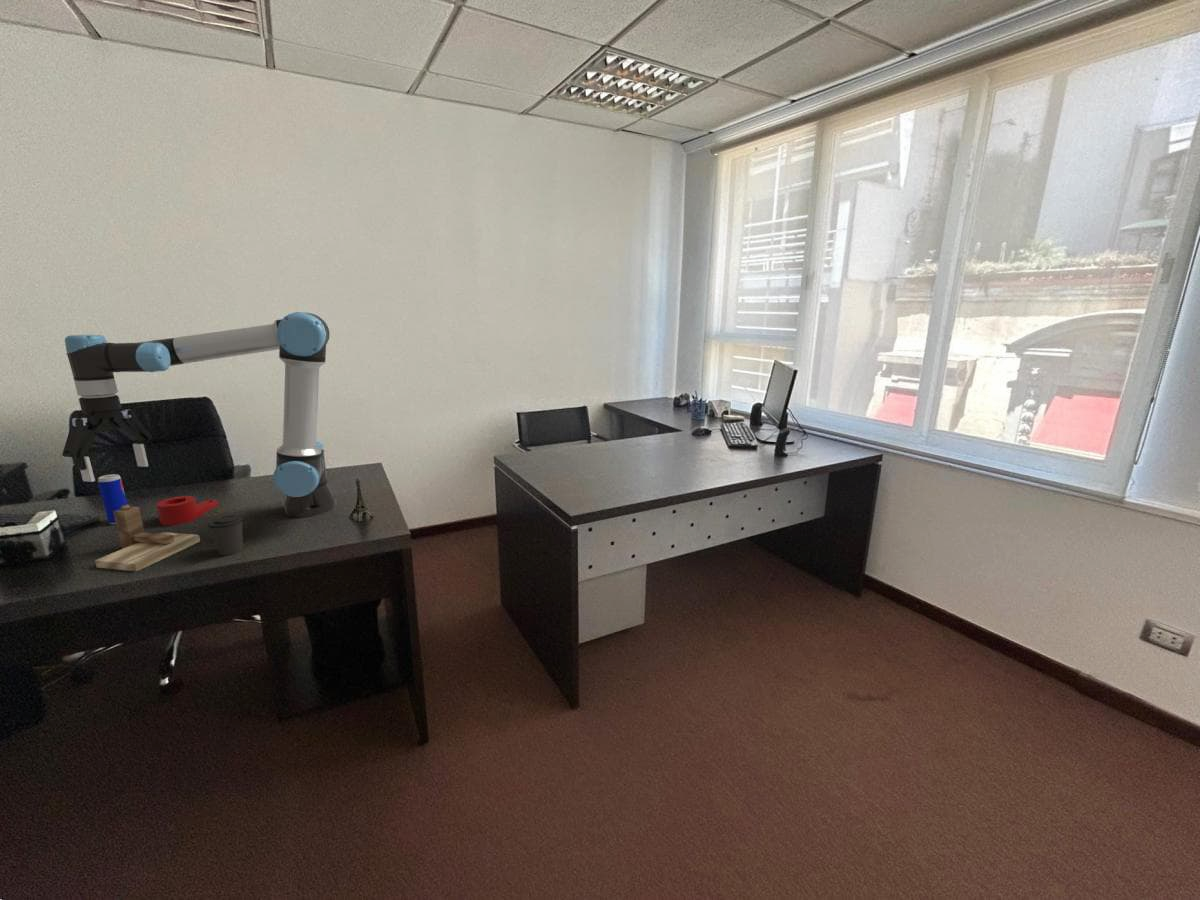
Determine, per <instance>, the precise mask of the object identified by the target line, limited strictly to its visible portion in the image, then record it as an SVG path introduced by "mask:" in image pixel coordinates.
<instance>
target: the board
mask: <svg viewBox="0 0 1200 900" xmlns="http://www.w3.org/2000/svg"><path fill="white" fill-rule="evenodd" d="M158 534H167V535H173V538H174V541H171V542H169V543H167V544H160V543H149V542H138V543H135V544H133V545H131V546H128V547H126V548H123V549H118V550H117V551H115V552H114V551H113V552H112V553H110V554H106V555H104V556H102V557H99V558H98V559H95V560H94V563H95V567H96V568H97V569H108V570H110V569H111V570H119V571H131V572H138V571H140V570H142V569H144V568H147V567H149V566H151V565H153V564H155V563H158V562H159V561H161V560H163V559H165V558H169V557H170V556H172V555H174V554H176V553H178V552H181V551H183V550H186V549H187V548H189V547H192V546H193V545H195V544H197V543H199V542H201V538H200V535H199V534H194V533H193V534H192V533H191V534H190V533H182V532H181V533H179V532H168V531H162V532H160V533H158Z"/></svg>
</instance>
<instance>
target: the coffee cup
mask: <svg viewBox="0 0 1200 900" xmlns="http://www.w3.org/2000/svg"><path fill="white" fill-rule="evenodd" d="M244 520H245V518H244V517H243V516H242V515H237V514H233V515H223V516H220V517H216V518H214V519H212V520H210V521H209V522H208V524H207V528H210V530H211V533H212V536H213V539H214V542H215V545H216V548H217V551H218V554H219V556H223V557H225V556H226V557H229V556H233V555H237V554H239V553H241V552H242V551H243V550H244V543H243V541H244V539H243V538H244V537H243V521H244Z"/></svg>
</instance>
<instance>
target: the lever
mask: <svg viewBox="0 0 1200 900" xmlns="http://www.w3.org/2000/svg"><path fill="white" fill-rule="evenodd" d="M218 505H219V503H218V499H210V500H206V501H201V502H198V503H197V502H196V498H195V496H192V495H181V496H175V497H174V496H173V497H170V498H166V499H163V500H160V501H158V502H157V503H156V510H157V512H158V518H159V522H160V525H161V526H169V527H171V526H177V525H183V524H186V523H190V522H192V521H194V520H196V519H198V518H200V517H201V516H203V515H204V514H206V513H207V512H209V511H211V510H212V509H214V508H215V507H217V506H218Z"/></svg>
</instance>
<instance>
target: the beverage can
mask: <svg viewBox="0 0 1200 900" xmlns="http://www.w3.org/2000/svg"><path fill="white" fill-rule="evenodd" d="M97 483H98V486H99V492H100V494H101V499H102V501H103V502H102V503H103V506H104V511H105V514H106V519H107V522H108V523H109V524H110V525H116V522H115V518H114V514H113V511H116V510H119V509H122V508H121V506H123V505H128V501H127V496H126V494H125V489H124V484H123V481H122V477H121V476H120V474H119V473H117V474H116V473H113V474H105V475H102V476H99V477H98V478H97Z"/></svg>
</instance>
